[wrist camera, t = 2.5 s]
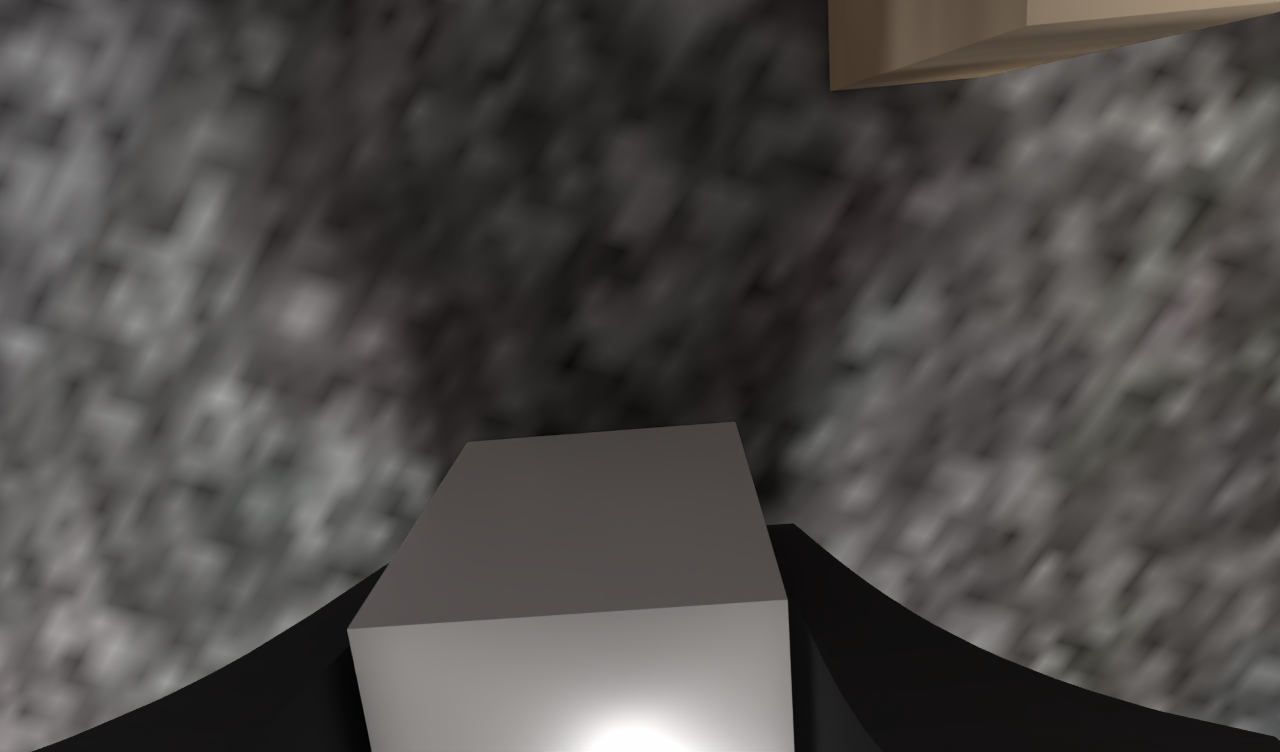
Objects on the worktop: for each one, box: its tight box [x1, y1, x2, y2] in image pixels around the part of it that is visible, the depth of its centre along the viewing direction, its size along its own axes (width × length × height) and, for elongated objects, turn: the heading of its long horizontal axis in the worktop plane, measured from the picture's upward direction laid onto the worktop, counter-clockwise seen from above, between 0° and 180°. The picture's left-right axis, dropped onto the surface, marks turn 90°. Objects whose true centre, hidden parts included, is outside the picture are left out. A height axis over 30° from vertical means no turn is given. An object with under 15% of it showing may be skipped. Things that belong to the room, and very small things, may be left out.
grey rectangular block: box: [347, 422, 794, 752], centre depth 10 cm, size 4×4×5 cm
